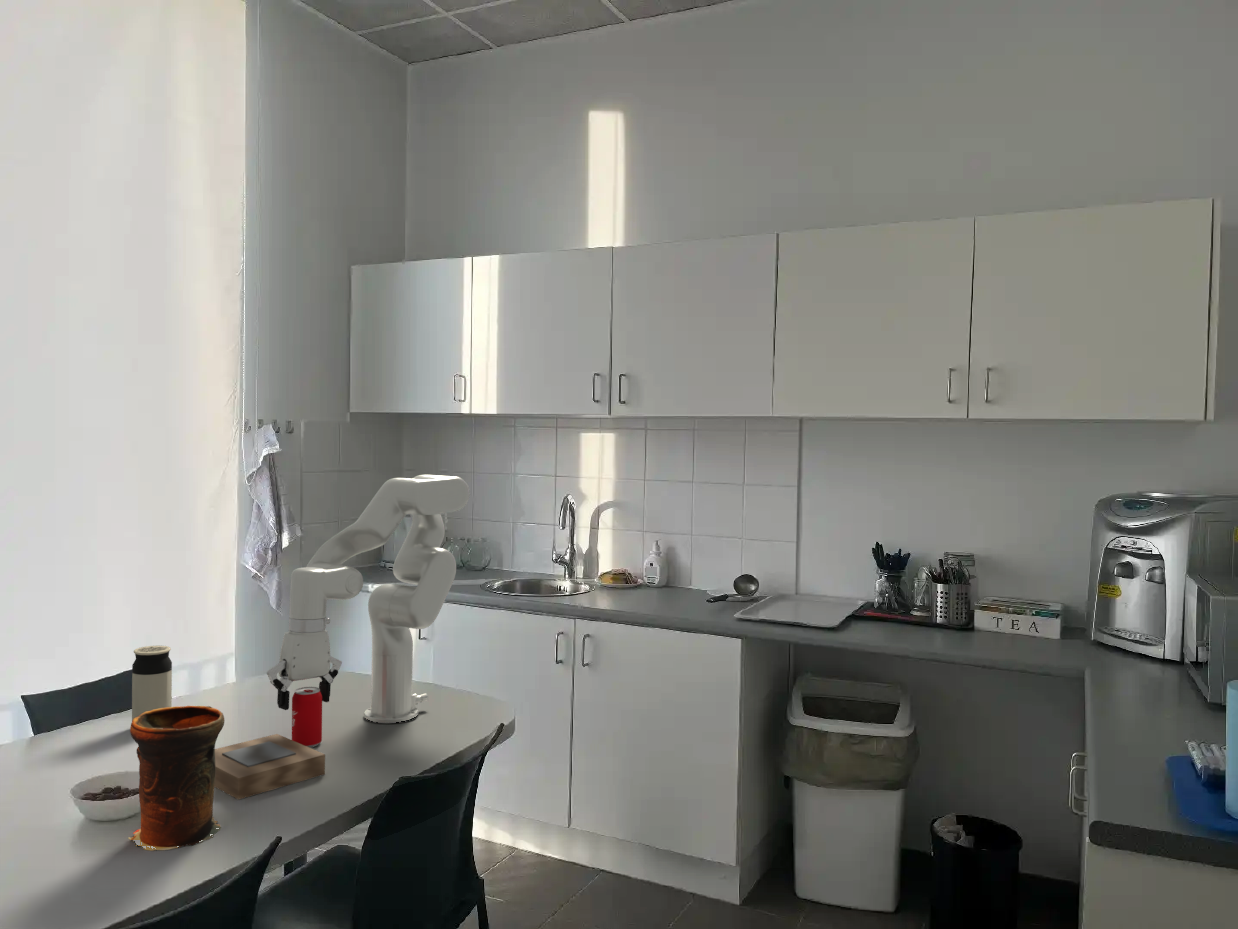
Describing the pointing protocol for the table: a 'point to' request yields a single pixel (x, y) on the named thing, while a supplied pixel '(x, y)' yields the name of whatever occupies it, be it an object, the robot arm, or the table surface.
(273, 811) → the table surface
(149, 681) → the travel mug
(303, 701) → the beverage can
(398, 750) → the table surface
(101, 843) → the table surface
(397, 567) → the robot arm
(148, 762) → the vessel
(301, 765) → the walnut plinth
